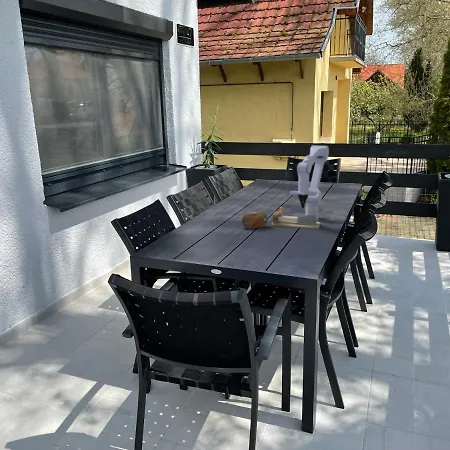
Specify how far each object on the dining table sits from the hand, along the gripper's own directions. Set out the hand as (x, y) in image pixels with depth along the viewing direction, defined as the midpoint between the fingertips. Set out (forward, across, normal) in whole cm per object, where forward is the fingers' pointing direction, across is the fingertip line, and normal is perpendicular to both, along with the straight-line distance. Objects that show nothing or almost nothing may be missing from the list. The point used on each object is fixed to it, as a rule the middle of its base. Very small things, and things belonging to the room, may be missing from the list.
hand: (302, 207), depth 262 cm
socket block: (+10, -15, -1) cm, 18 cm away
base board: (+10, -4, -1) cm, 11 cm away
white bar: (+8, -7, -1) cm, 11 cm away
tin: (+10, -26, -10) cm, 30 cm away
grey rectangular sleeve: (+10, +2, -1) cm, 10 cm away
